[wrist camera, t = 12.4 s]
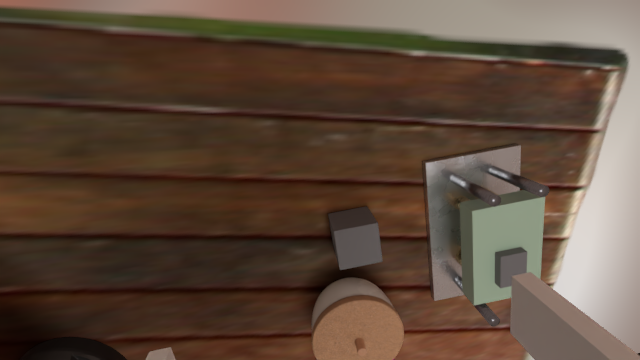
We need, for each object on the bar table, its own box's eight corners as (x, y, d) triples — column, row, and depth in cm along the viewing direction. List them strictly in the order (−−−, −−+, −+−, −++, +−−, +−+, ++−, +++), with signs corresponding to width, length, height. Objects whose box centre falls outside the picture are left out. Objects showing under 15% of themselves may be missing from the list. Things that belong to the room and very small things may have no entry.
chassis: (431, 296, 45) (465, 346, 36) (422, 161, 39) (460, 182, 30) (511, 279, 45) (564, 324, 37) (515, 143, 39) (578, 160, 31)
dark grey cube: (333, 248, 41) (340, 270, 36) (327, 213, 40) (333, 231, 35) (371, 241, 41) (382, 261, 37) (366, 206, 40) (377, 222, 35)
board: (462, 292, 39) (479, 311, 36) (459, 202, 35) (477, 214, 32) (524, 279, 39) (546, 297, 36) (527, 189, 36) (552, 200, 32)
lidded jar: (317, 257, 41) (325, 304, 32) (393, 268, 43) (422, 316, 34) (300, 325, 44) (303, 386, 35) (373, 333, 46) (394, 394, 37)
